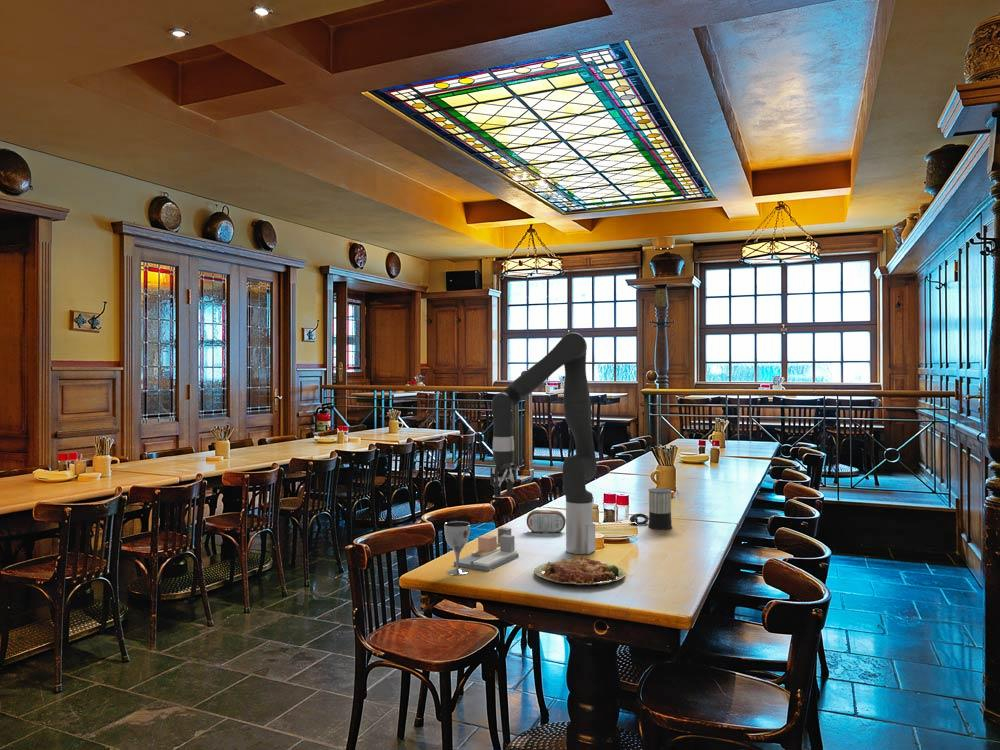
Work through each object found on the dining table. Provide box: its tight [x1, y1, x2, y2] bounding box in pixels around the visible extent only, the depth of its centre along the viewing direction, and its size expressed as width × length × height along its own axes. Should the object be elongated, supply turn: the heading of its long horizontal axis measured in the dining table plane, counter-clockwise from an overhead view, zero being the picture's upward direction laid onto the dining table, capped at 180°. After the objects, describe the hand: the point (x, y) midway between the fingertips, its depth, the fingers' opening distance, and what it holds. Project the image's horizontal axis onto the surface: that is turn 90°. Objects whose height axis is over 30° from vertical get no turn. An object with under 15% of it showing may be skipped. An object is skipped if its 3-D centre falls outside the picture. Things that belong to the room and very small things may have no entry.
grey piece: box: [471, 526, 512, 556], centre depth 237 cm, size 6×18×6 cm, turn 149°
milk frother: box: [629, 487, 673, 530], centre depth 277 cm, size 14×16×15 cm
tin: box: [526, 509, 566, 533], centre depth 267 cm, size 15×3×8 cm, turn 84°
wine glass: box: [443, 520, 471, 576], centre depth 215 cm, size 8×8×15 cm
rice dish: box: [533, 556, 626, 586], centre depth 211 cm, size 28×28×5 cm
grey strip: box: [473, 534, 517, 567], centre depth 226 cm, size 6×18×6 cm, turn 149°
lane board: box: [453, 549, 519, 572], centre depth 227 cm, size 13×19×2 cm
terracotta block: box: [477, 534, 498, 552], centre depth 234 cm, size 4×4×4 cm
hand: (503, 495), depth 244 cm, fingers open, 8 cm apart
